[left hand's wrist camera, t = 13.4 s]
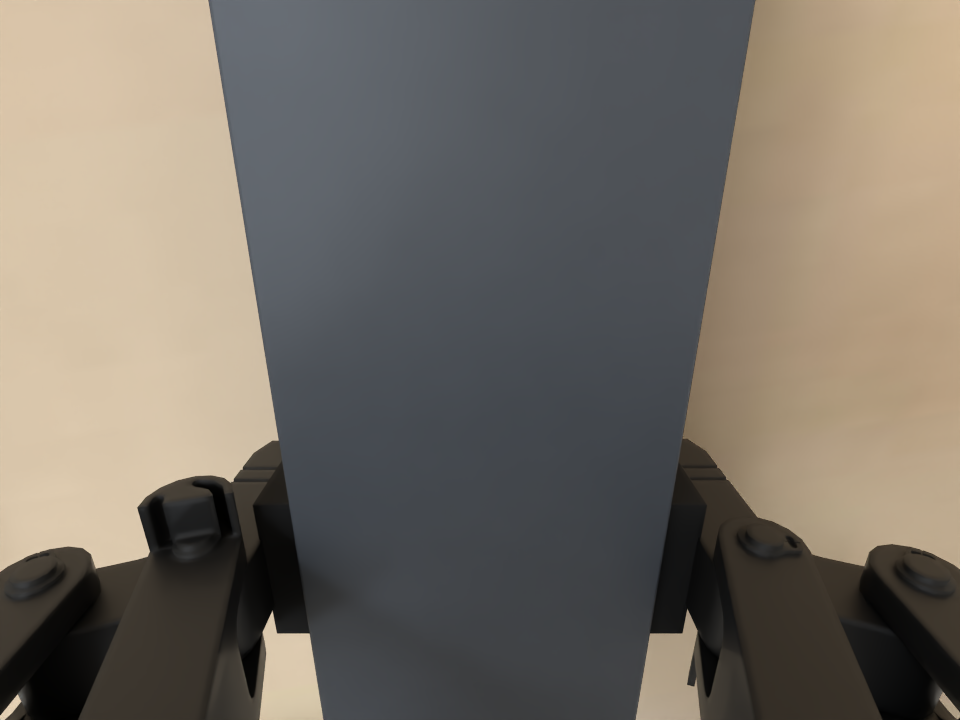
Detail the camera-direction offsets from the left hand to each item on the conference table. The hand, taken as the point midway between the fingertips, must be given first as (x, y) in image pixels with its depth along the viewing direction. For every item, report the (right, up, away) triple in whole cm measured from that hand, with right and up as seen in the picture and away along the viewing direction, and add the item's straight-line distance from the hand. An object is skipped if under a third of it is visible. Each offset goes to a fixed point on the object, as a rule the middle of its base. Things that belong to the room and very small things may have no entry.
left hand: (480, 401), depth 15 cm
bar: (0, +22, -8) cm, 23 cm away
